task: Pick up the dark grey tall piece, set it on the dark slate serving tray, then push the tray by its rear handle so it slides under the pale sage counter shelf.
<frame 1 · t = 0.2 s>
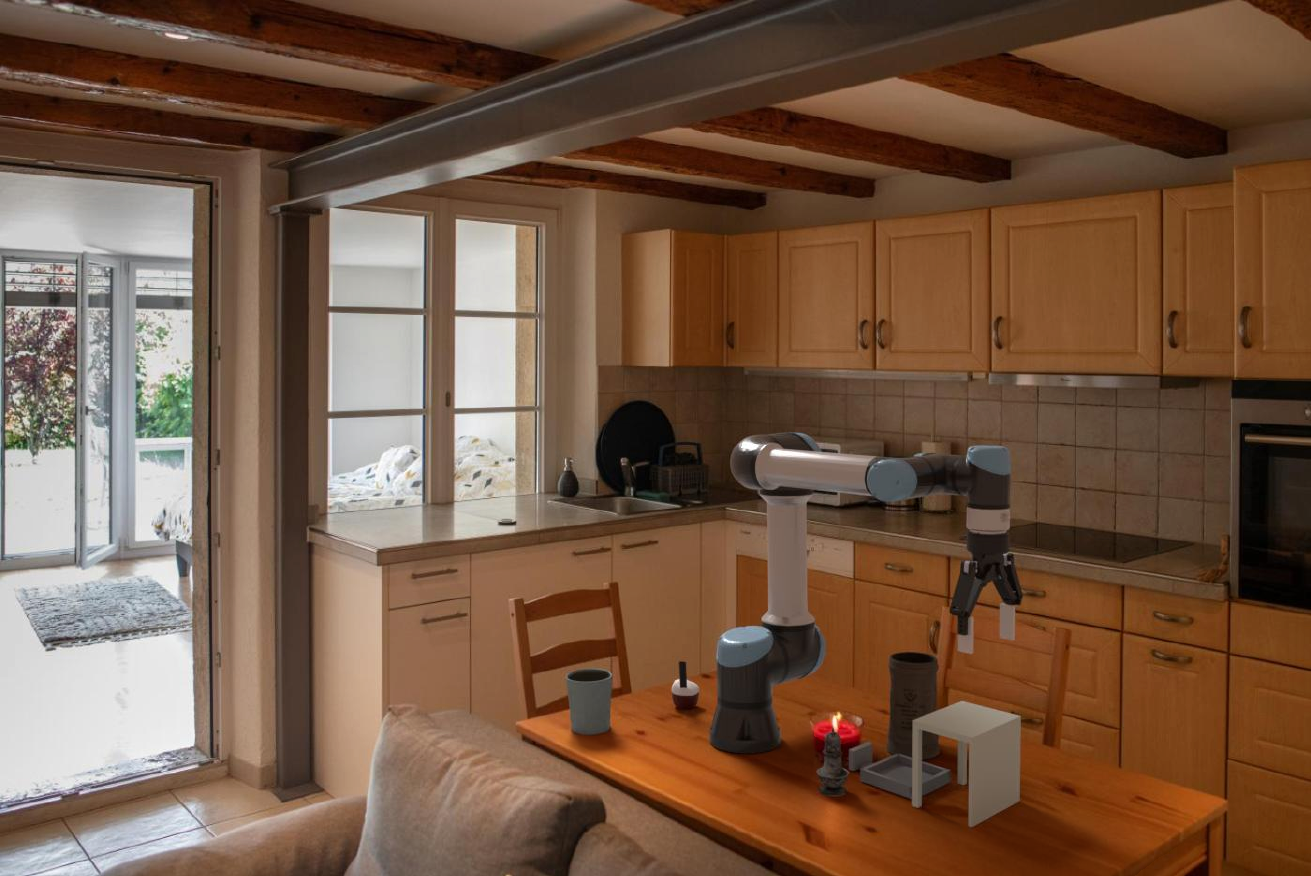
hand: (986, 645, 191), 28 cm above the table, fingers open, 13 cm apart
grey-blue cup: (589, 728, 229), on the table
tray: (894, 767, 199), point 2 cm above the table, slide at 0.0 cm
dark grey tall piece: (832, 791, 194), on the table
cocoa: (684, 707, 243), on the table
beer stein: (912, 747, 216), on the table
counter: (966, 803, 188), on the table
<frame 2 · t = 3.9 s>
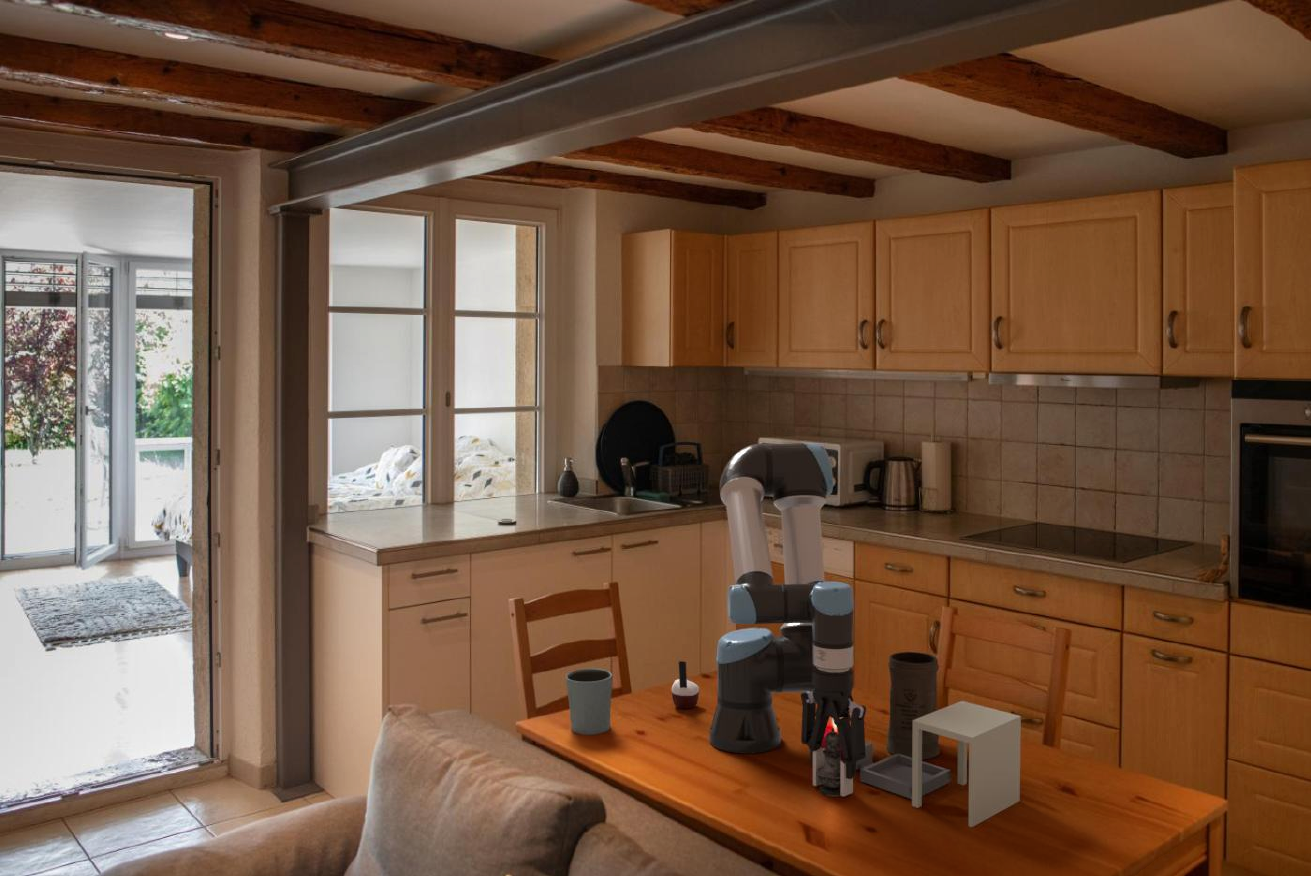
hand: (832, 788, 194), 0 cm above the table, fingers closed on dark grey tall piece, 6 cm apart
dark grey tall piece: (832, 791, 194), on the table, touching gripper
everything else where it was.
when the fingers open (3 cm above the table, at t = 8.1 s): dark grey tall piece drops 1 cm, resting on tray.
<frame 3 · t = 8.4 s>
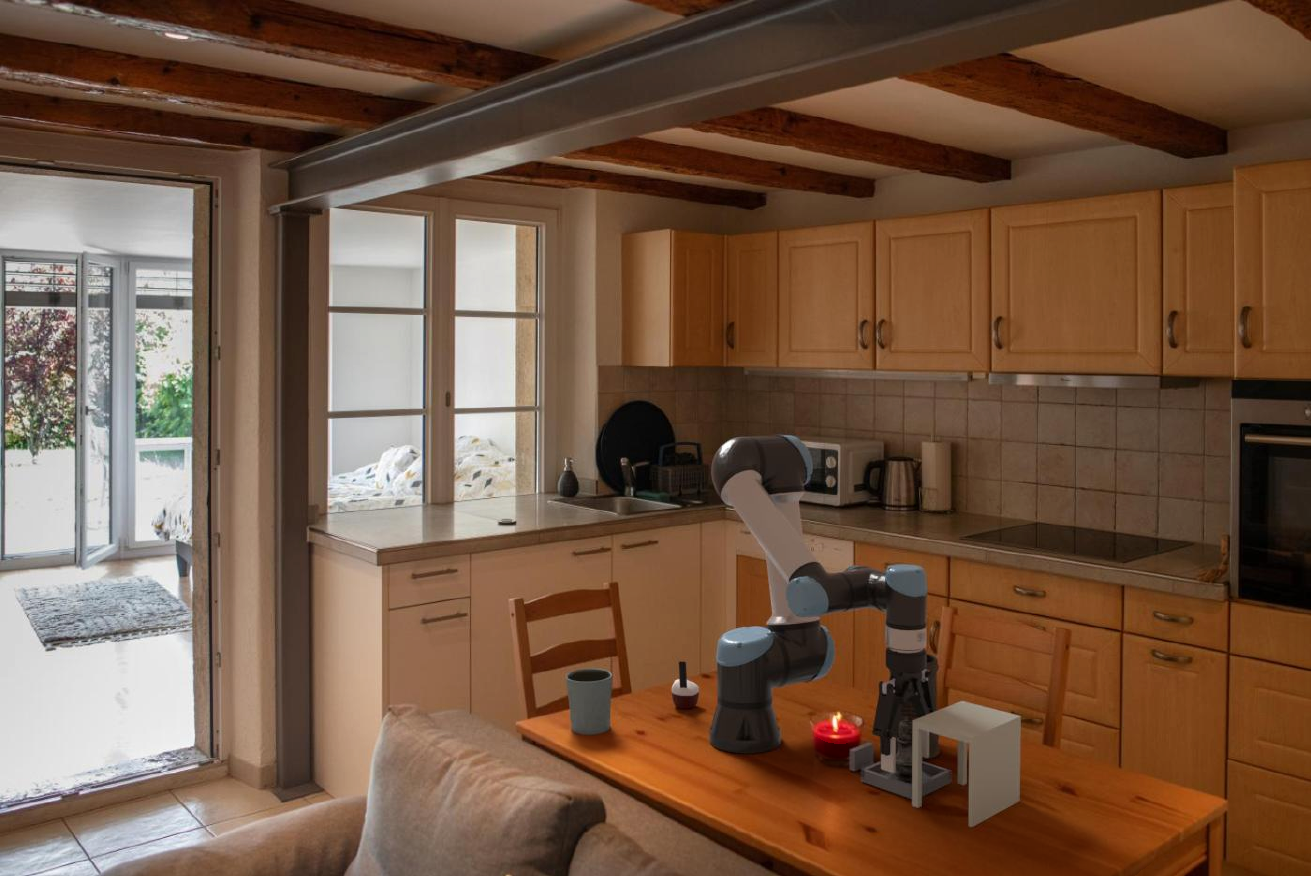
hand: (905, 762, 197), 4 cm above the table, fingers open, 10 cm apart
tray: (895, 767, 199), point 2 cm above the table, slide at 0.2 cm, touching dark grey tall piece
dark grey tall piece: (906, 778, 197), point 1 cm above the table, touching tray
everything else where it was.
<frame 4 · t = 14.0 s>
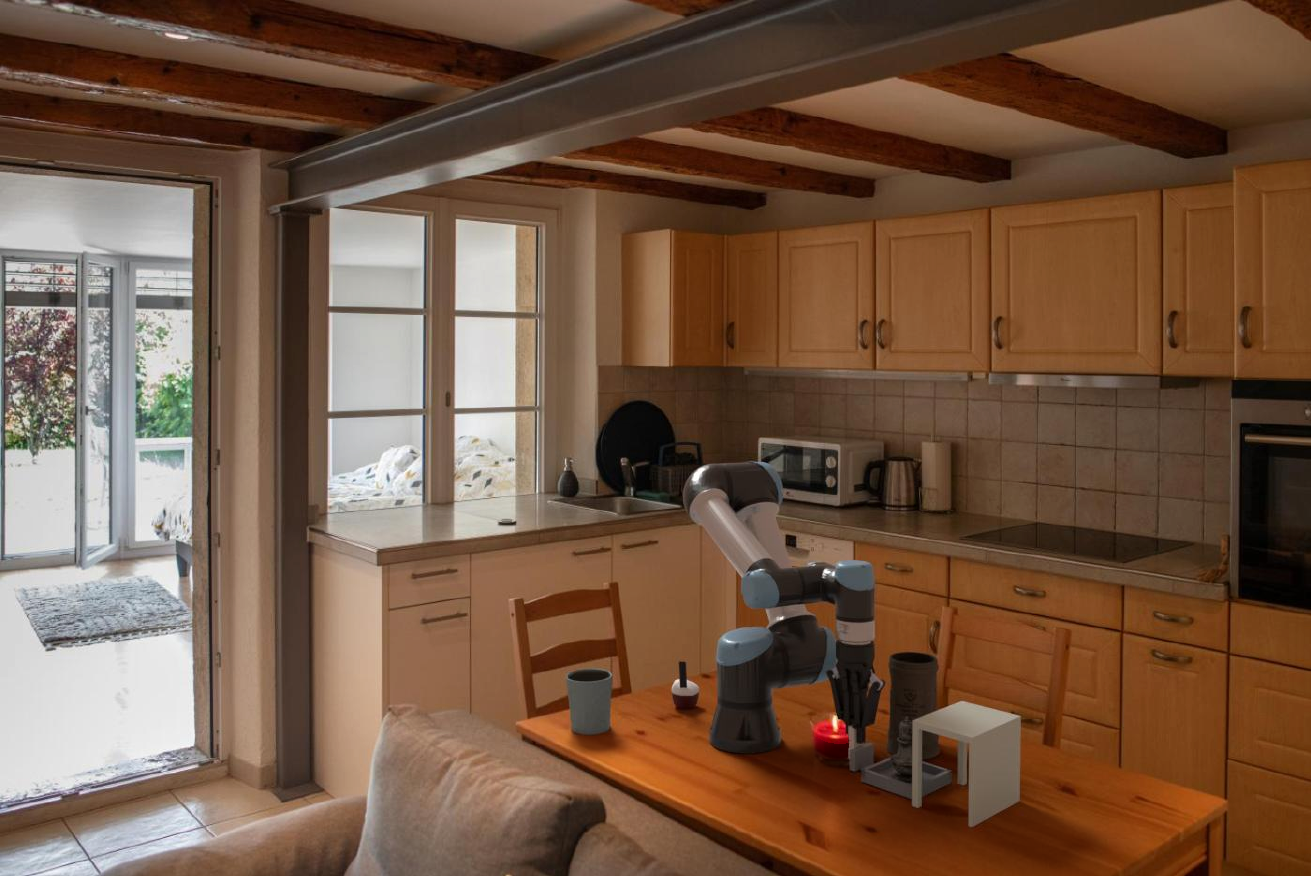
hand: (855, 757, 206), 2 cm above the table, fingers closed
tray: (895, 767, 199), point 2 cm above the table, slide at 0.2 cm, touching gripper, dark grey tall piece
everything else where it was.
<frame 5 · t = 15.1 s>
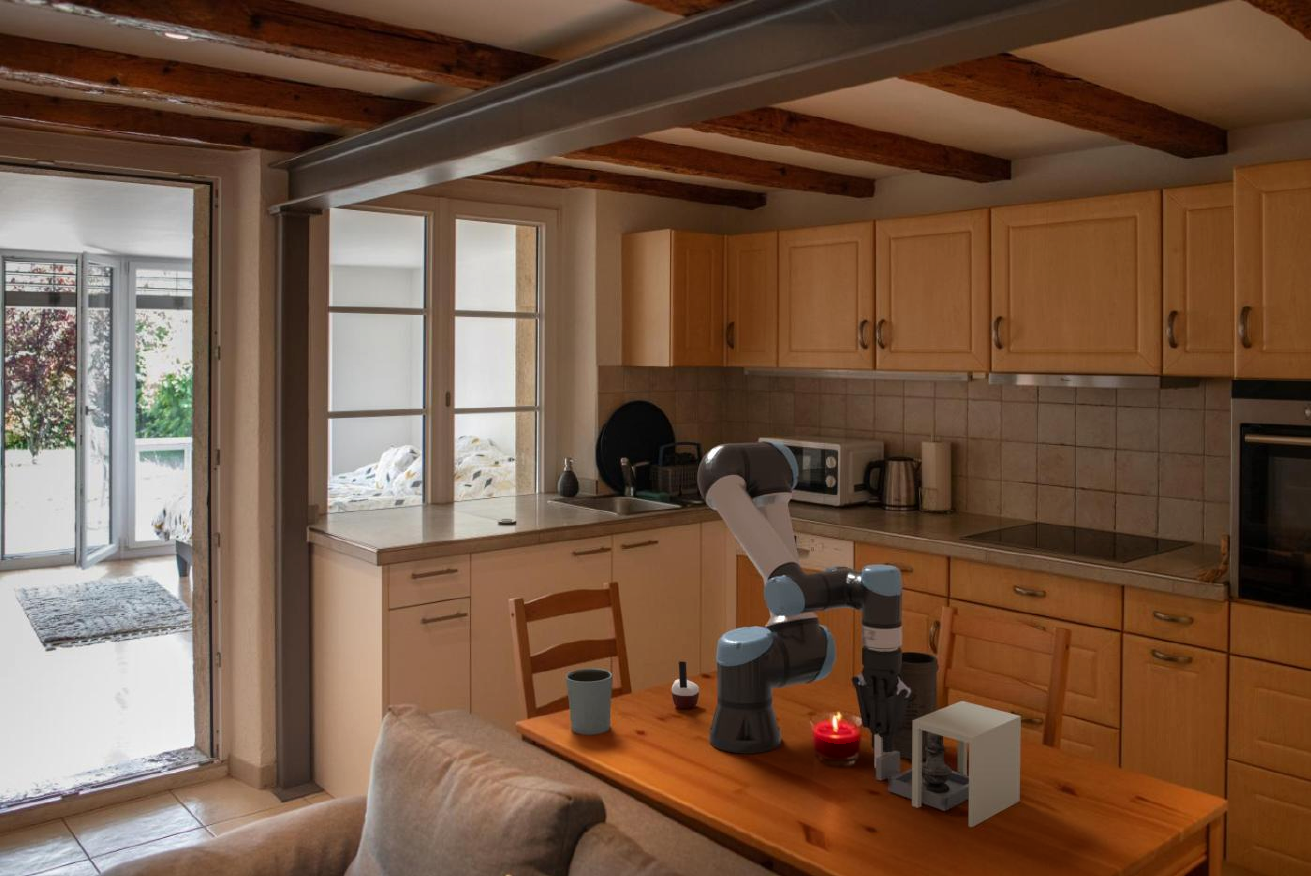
hand: (881, 766, 201), 2 cm above the table, fingers closed
tray: (923, 777, 194), point 2 cm above the table, slide at 6.5 cm, touching gripper, dark grey tall piece
dark grey tall piece: (935, 788, 192), point 1 cm above the table, touching tray
everything else where it was.
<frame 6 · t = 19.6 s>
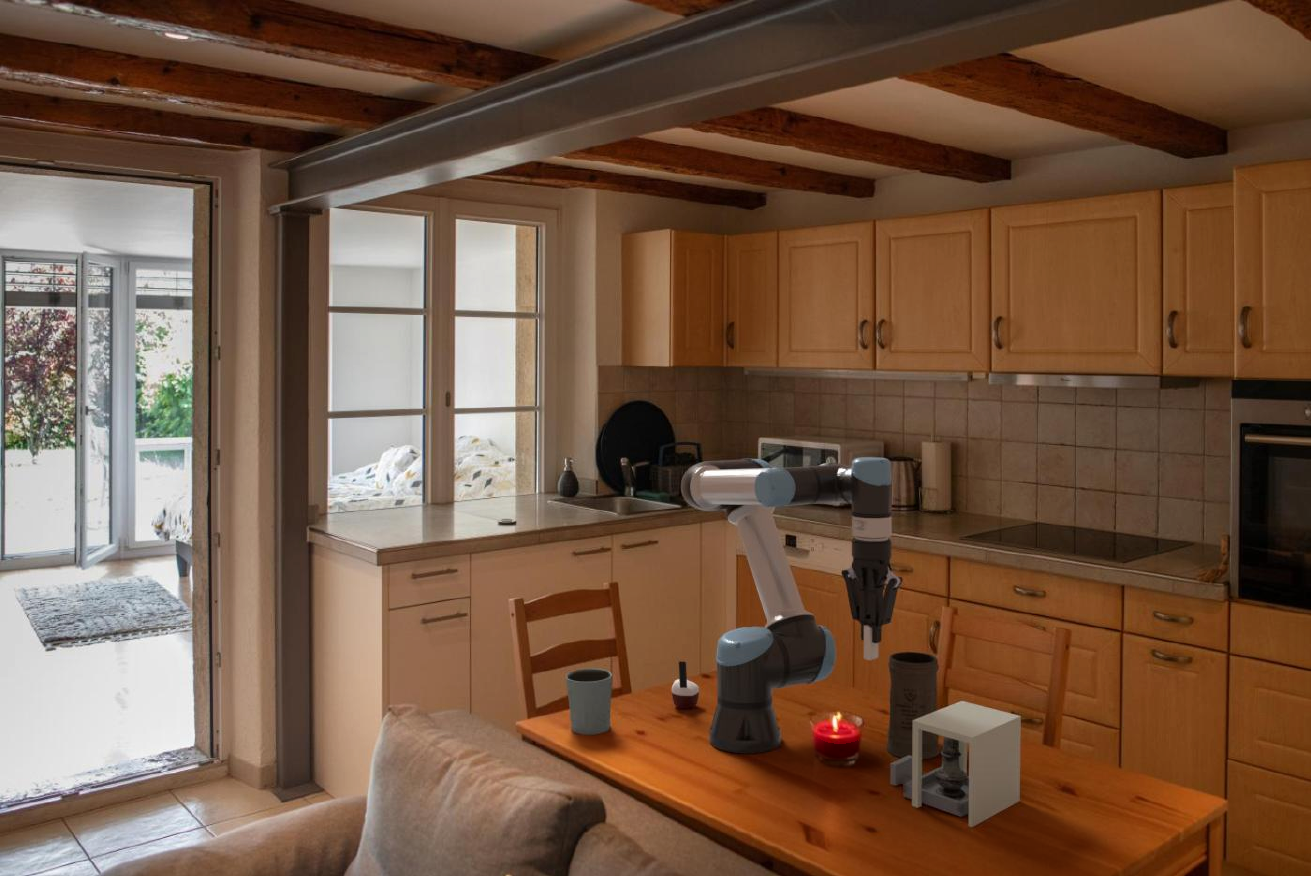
hand: (871, 657, 202), 22 cm above the table, fingers closed
tray: (938, 782, 192), point 2 cm above the table, slide at 9.7 cm, touching dark grey tall piece
dark grey tall piece: (950, 793, 190), point 1 cm above the table, touching tray
everything else where it was.
at the end: tray slide at 9.7 cm; dark grey tall piece inside the target area on the tray (0.0 cm from its centre), point 0.8 cm above the tray's base; dark grey tall piece tilted 0° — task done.
